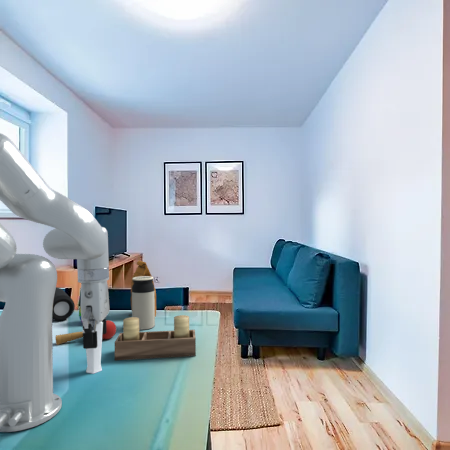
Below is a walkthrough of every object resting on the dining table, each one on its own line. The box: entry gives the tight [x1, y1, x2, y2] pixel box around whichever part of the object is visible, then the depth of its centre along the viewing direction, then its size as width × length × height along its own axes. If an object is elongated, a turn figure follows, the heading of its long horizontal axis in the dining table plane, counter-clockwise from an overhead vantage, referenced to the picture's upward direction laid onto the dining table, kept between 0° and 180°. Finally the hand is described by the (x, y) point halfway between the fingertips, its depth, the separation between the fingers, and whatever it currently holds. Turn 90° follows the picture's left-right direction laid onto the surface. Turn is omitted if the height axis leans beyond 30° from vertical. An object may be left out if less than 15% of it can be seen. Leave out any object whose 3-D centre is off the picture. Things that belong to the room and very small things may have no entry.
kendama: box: [55, 319, 117, 346], centre depth 110 cm, size 8×6×18 cm
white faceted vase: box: [85, 321, 103, 375], centre depth 87 cm, size 5×4×15 cm
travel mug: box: [131, 275, 156, 331], centre depth 124 cm, size 8×8×18 cm
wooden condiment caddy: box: [114, 314, 197, 361], centre depth 99 cm, size 8×22×10 cm, turn 96°
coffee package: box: [130, 260, 157, 318], centre depth 140 cm, size 10×12×22 cm
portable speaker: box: [52, 287, 76, 322], centre depth 142 cm, size 26×10×10 cm, turn 33°
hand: (95, 340), depth 88 cm, fingers open, 9 cm apart
